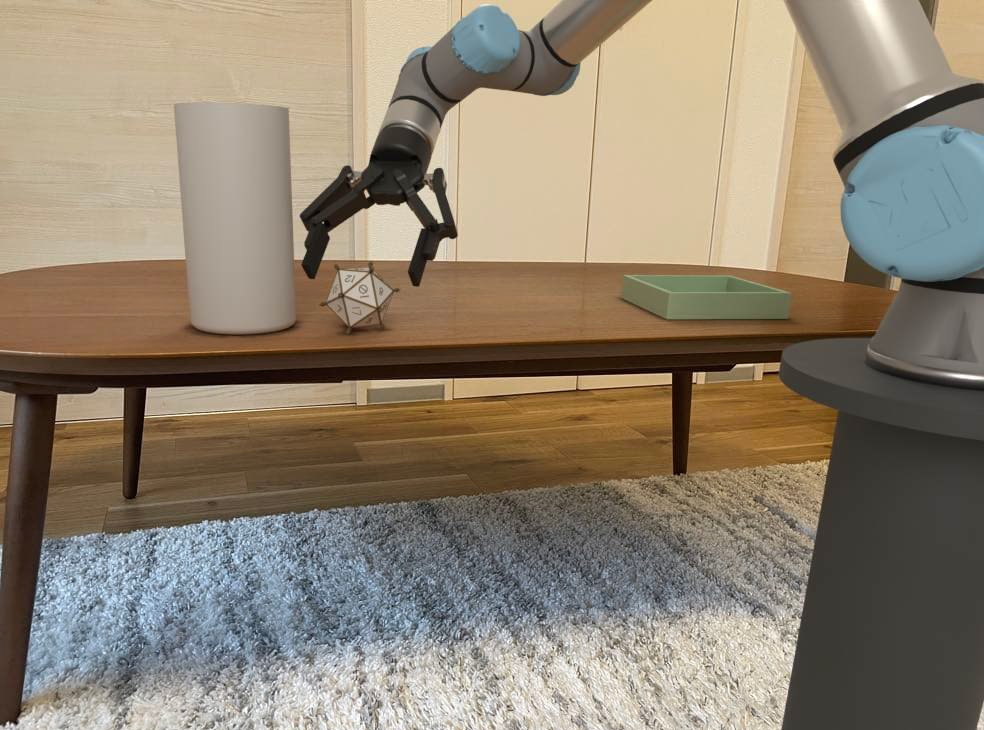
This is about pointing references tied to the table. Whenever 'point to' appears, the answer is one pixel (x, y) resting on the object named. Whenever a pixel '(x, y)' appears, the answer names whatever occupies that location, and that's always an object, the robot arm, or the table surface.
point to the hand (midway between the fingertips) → (359, 276)
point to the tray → (705, 297)
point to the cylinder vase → (237, 216)
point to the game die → (359, 297)
